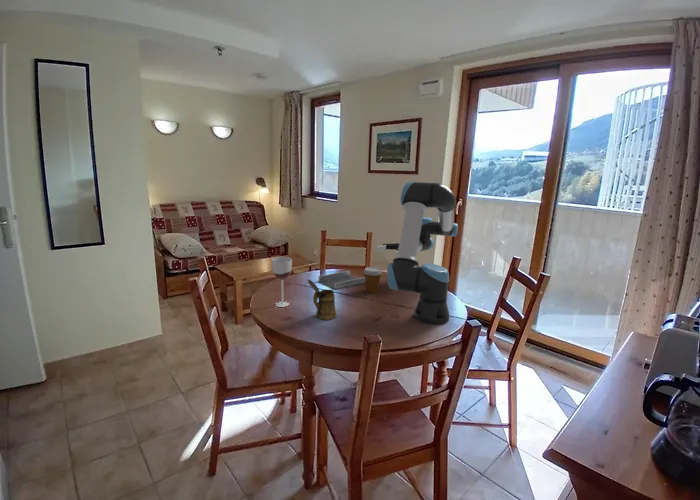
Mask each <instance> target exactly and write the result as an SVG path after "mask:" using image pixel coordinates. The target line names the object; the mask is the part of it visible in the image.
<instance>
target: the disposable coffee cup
mask: <svg viewBox="0 0 700 500" xmlns="http://www.w3.org/2000/svg"><path fill="white" fill-rule="evenodd" d="M363 273H364V277H365V283H364V284H365V292H367V293H369V294H375V293H378V292H379V286H380V281H381V275H382V269H381V268H380V267H375V266H368V267H365V268H364V270H363Z"/></svg>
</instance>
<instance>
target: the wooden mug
mask: <svg viewBox="0 0 700 500" xmlns="http://www.w3.org/2000/svg"><path fill="white" fill-rule="evenodd" d="M307 282H308V285H310V287H311V288H312V289H313V290H314V294H313V296H312V301H313V303H314V306H315V307H316V309H317V310H316V313H315V317H316V318H317V319H320V320H323V321H331V320H333V319H334V320H335V318H337V316H338V315H337V310H336V305H335V304H336V303H335V300H336V299H335V298H336V297H335V294H334V291H335V290H332V289H321V290H320V289H319V287H318V286H317V285H316V284H315V283H314V282H313V281H312V280H310V279H307Z"/></svg>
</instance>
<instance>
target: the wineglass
mask: <svg viewBox="0 0 700 500" xmlns="http://www.w3.org/2000/svg"><path fill="white" fill-rule="evenodd" d="M271 263H272V264H271V265H272V266H271V267H272V271H273V274H274V276H275V277H276V278H277V279H279V280H281V281H280V282H281V283H280V284H281V285H280V287H281V292H280V293H281V295H280V296H281V301H278V302H279V303H277V302H275V303H276V306H278V307H285V306H288V305H289V303H290V302H289V303H287V302H288V301H284V280H285V279H287V278H288V277H289V276H290V274H291V272H292V267H293V266H292V265H293V258H292V257H289V256H275V257H273V258H271ZM283 301H284V302H283Z"/></svg>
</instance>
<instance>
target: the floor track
mask: <svg viewBox="0 0 700 500" xmlns="http://www.w3.org/2000/svg"><path fill="white" fill-rule="evenodd" d="M317 280H318V283H320V284H321V285H324V286H327V287H329V288H330V289H333V290H334V291H337V290H341V289H346V288H350V287H355V286H360V285H364V284H365V276H363V277H356V276H354V275H352V274H351V270H344V271H340V272H335V273H329V274H324V275H323V274H322V275H319V276H318V279H317Z"/></svg>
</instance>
